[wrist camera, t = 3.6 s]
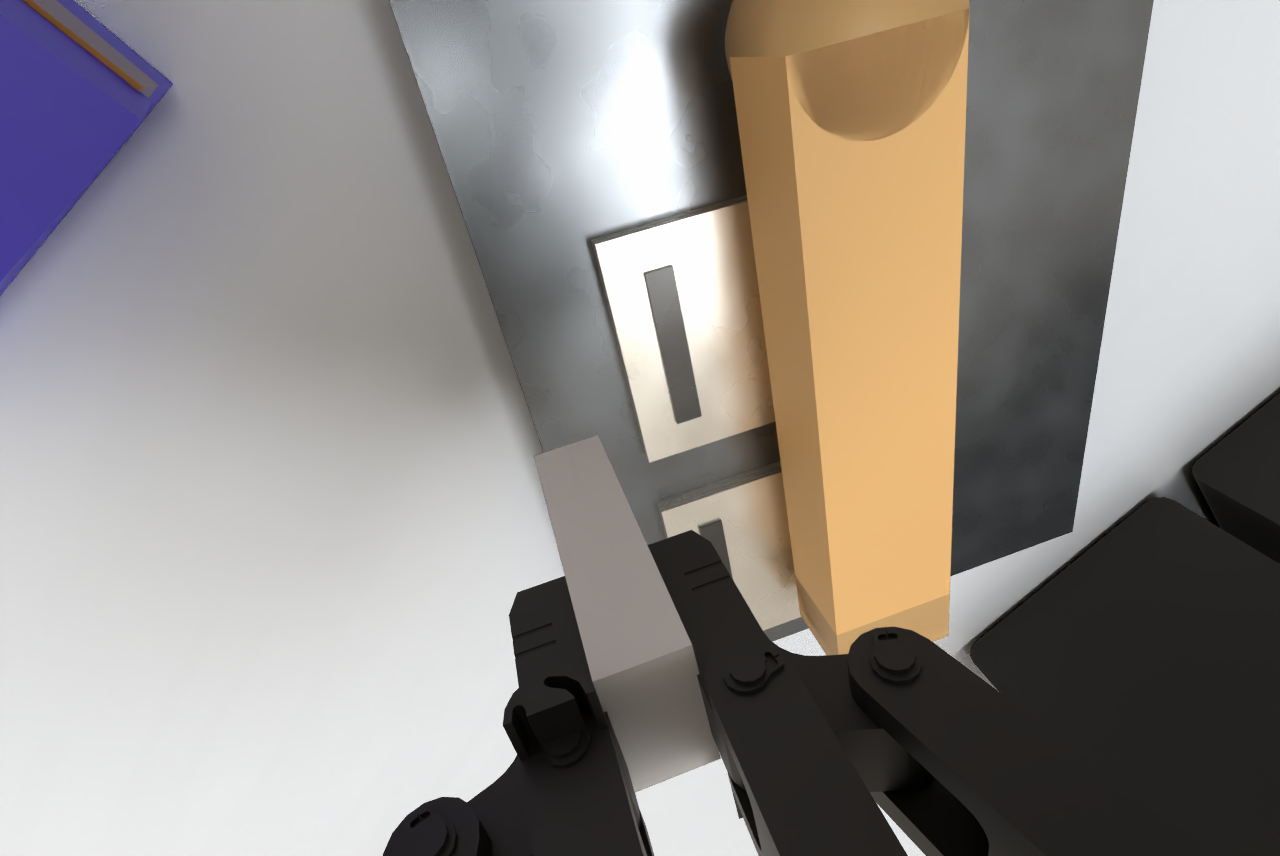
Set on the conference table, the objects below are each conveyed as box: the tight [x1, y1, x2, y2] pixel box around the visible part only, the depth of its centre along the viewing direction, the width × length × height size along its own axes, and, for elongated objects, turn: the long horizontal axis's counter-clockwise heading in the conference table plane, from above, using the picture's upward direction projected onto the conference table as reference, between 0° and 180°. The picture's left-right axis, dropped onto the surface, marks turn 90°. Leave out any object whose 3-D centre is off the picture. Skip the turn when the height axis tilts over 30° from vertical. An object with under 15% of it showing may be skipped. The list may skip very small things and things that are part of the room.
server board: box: [389, 0, 1153, 641], centre depth 22 cm, size 24×20×3 cm
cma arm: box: [726, 0, 970, 655], centre depth 19 cm, size 20×4×3 cm, turn 13°
